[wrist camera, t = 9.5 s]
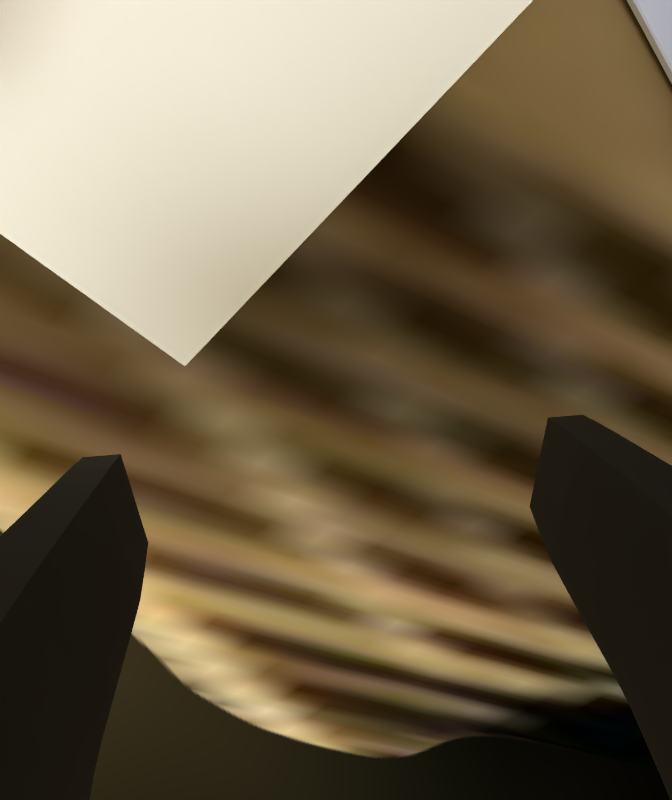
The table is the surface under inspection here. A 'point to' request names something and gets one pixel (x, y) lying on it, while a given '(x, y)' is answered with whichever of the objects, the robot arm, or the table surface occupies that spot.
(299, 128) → the large cream panel
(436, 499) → the table surface
